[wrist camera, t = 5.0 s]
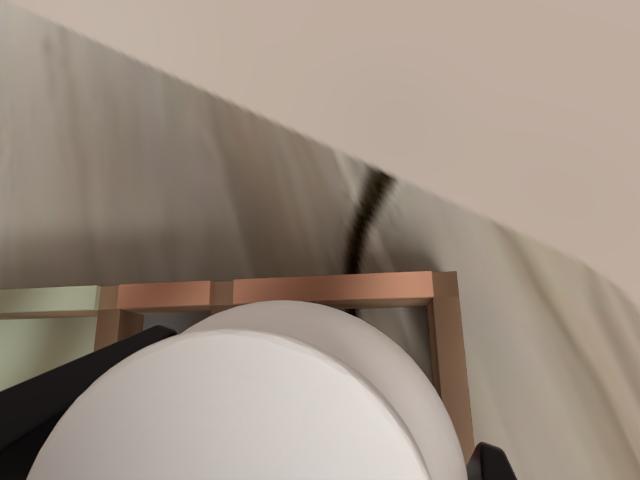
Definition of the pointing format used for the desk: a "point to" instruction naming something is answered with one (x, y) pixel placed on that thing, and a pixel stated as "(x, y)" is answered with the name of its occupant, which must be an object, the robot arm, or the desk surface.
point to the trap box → (213, 297)
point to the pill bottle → (259, 406)
